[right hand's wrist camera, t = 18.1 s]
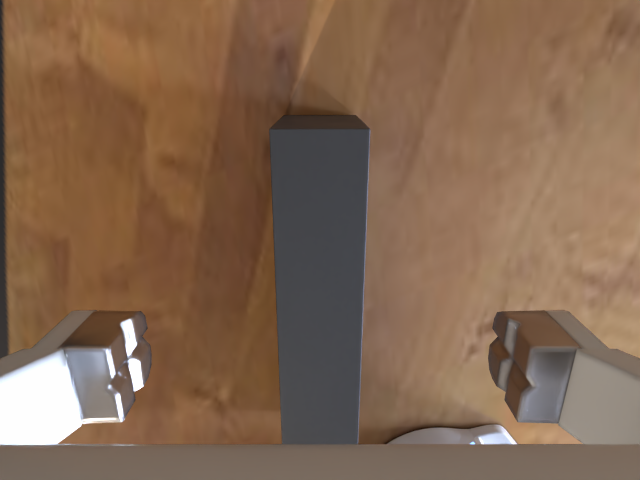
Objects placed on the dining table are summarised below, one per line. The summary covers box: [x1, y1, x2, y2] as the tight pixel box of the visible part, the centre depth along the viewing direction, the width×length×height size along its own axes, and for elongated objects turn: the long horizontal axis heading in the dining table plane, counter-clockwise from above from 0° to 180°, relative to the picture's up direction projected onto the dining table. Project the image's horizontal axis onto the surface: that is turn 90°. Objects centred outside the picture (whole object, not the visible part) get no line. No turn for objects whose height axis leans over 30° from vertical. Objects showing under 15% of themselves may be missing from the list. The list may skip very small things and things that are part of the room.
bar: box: [269, 115, 370, 444], centre depth 32 cm, size 27×5×10 cm, turn 0°
